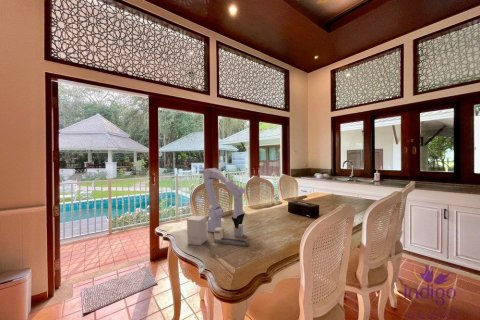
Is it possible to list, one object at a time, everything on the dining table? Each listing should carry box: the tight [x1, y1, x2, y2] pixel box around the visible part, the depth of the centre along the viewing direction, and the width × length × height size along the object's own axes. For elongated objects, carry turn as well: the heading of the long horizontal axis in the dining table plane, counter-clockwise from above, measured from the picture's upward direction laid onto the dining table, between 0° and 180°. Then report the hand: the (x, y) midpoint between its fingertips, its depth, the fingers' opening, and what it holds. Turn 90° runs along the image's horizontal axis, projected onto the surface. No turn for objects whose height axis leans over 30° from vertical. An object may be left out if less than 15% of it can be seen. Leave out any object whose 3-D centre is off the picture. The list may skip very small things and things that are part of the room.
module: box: [233, 224, 244, 238], centre depth 137 cm, size 5×4×6 cm
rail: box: [213, 237, 250, 248], centre depth 125 cm, size 21×4×3 cm, turn 71°
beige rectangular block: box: [213, 227, 224, 240], centre depth 127 cm, size 4×4×6 cm
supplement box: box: [186, 215, 208, 246], centre depth 128 cm, size 9×9×15 cm
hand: (238, 226), depth 137 cm, fingers open, 7 cm apart
